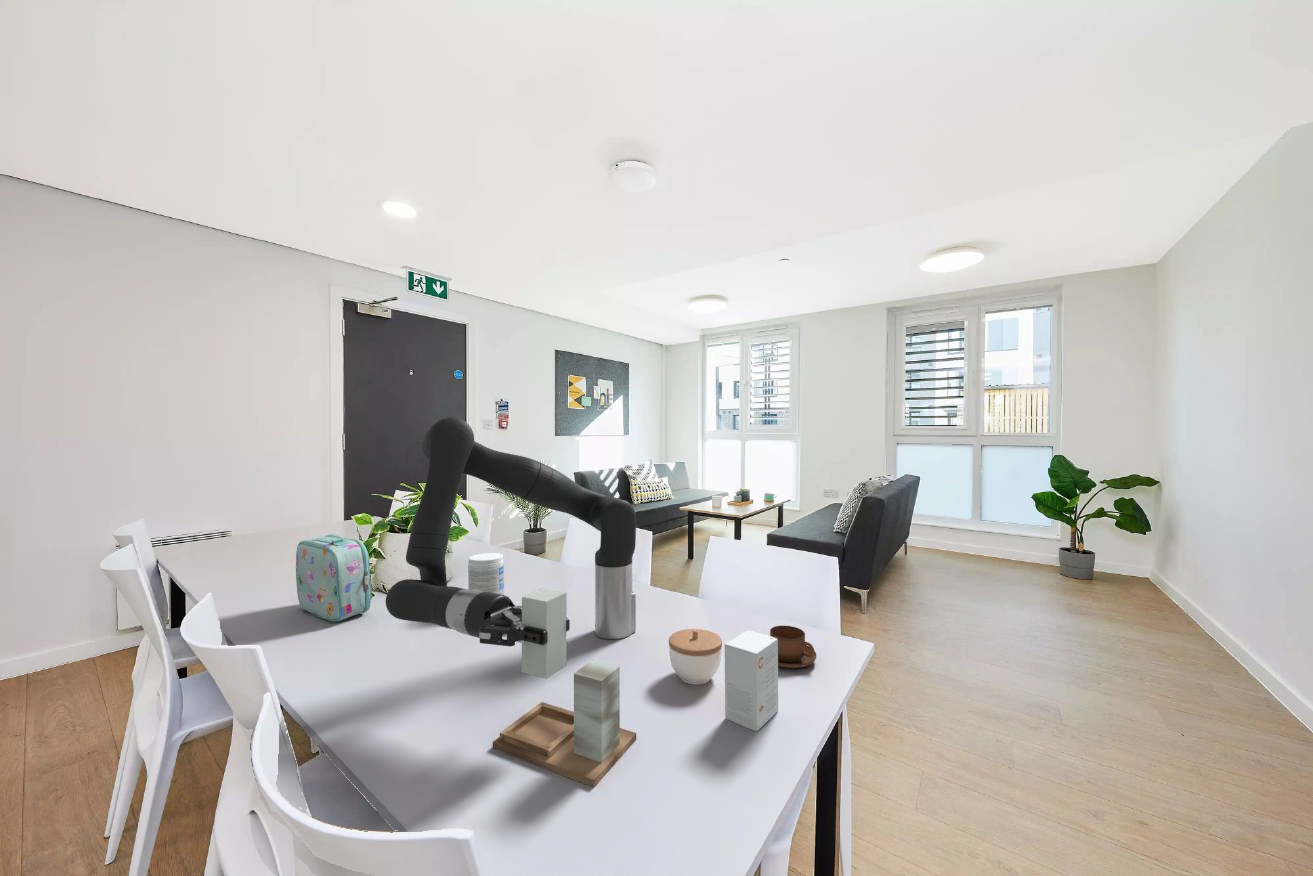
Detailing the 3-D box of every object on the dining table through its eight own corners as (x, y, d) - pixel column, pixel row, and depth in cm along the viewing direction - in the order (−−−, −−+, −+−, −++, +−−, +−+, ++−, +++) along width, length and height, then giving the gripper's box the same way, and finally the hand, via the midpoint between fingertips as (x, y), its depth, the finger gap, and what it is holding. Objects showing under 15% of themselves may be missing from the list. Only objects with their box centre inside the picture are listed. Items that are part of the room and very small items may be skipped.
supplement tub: (508, 610, 137) (508, 557, 137) (473, 617, 132) (472, 562, 132) (498, 600, 145) (498, 550, 145) (464, 606, 140) (464, 555, 140)
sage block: (542, 659, 83) (542, 588, 82) (566, 665, 80) (566, 592, 80) (521, 671, 78) (521, 596, 78) (546, 679, 76) (546, 601, 76)
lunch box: (379, 616, 133) (378, 537, 133) (338, 628, 124) (337, 544, 124) (331, 598, 147) (330, 527, 147) (291, 609, 138) (290, 533, 138)
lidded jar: (726, 669, 102) (726, 624, 102) (715, 695, 92) (715, 645, 92) (677, 661, 106) (677, 618, 106) (661, 685, 95) (661, 637, 95)
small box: (747, 699, 90) (747, 628, 90) (779, 711, 86) (779, 638, 86) (723, 718, 84) (723, 643, 84) (756, 733, 80) (756, 653, 80)
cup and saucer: (819, 654, 109) (819, 626, 109) (812, 678, 98) (812, 647, 98) (765, 644, 114) (765, 618, 114) (753, 666, 103) (753, 637, 103)
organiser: (543, 709, 87) (542, 636, 87) (636, 739, 79) (636, 658, 78) (492, 748, 76) (492, 665, 76) (594, 787, 68) (593, 693, 68)
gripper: (445, 604, 79) (526, 623, 72) (509, 581, 92) (584, 594, 84) (445, 651, 79) (526, 674, 72) (509, 621, 92) (584, 638, 84)
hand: (557, 631), depth 78 cm, fingers closed on sage block, 5 cm apart
